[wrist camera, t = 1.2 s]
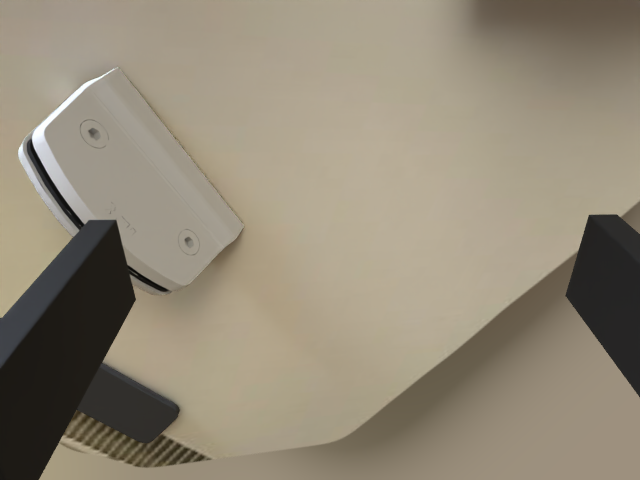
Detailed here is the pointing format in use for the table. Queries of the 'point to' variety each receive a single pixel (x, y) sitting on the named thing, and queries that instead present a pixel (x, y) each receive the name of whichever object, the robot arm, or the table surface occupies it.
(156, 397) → the phone
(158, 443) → the table surface
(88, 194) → the white piece
